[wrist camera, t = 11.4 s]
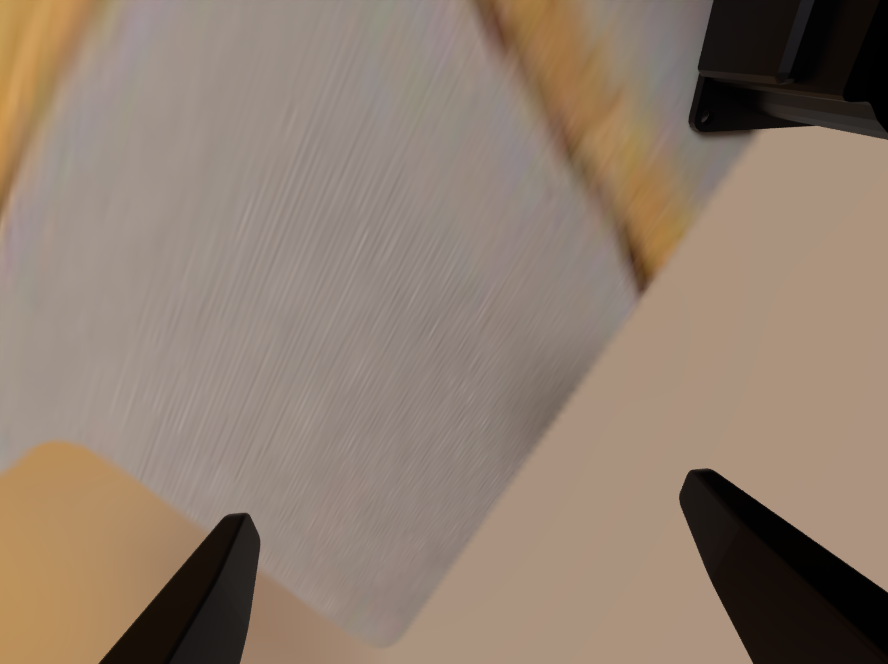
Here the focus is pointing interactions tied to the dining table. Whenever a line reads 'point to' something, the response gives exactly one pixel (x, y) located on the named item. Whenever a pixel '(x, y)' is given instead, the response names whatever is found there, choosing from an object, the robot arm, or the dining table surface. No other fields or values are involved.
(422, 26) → the dining table surface
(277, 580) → the dining table surface
